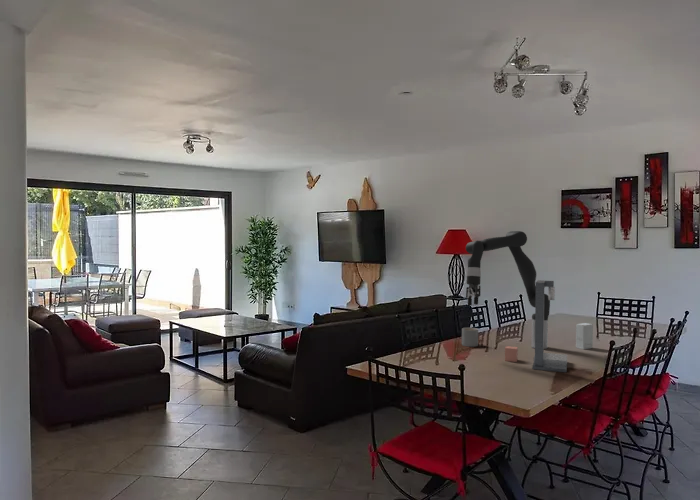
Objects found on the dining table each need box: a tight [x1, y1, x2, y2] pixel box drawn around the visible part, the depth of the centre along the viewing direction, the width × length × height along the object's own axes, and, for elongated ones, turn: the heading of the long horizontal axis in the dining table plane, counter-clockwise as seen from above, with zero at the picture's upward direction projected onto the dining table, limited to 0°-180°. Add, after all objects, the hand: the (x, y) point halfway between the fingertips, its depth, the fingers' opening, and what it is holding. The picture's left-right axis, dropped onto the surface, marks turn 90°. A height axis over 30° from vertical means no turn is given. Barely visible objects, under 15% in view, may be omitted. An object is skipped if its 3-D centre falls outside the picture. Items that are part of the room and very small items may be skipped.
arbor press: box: [531, 279, 568, 373], centre depth 272 cm, size 24×16×44 cm, turn 157°
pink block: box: [504, 345, 519, 363], centre depth 284 cm, size 6×6×7 cm
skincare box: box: [575, 322, 594, 350], centre depth 316 cm, size 8×6×15 cm
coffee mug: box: [461, 327, 479, 348], centre depth 326 cm, size 13×10×10 cm
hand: (472, 304), depth 290 cm, fingers open, 8 cm apart
